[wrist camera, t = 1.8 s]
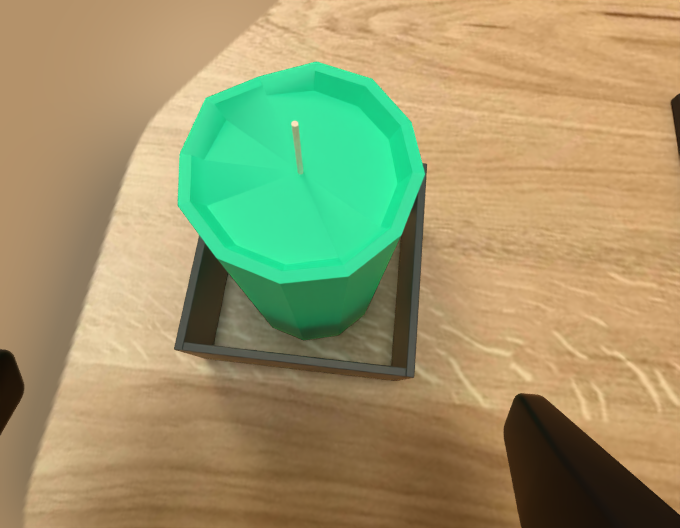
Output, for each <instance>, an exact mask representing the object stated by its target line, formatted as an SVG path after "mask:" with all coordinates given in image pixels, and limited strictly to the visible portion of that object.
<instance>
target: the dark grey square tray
mask: <svg viewBox="0 0 680 528" xmlns="http://www.w3.org/2000/svg"><path fill="white" fill-rule="evenodd" d="M422 164H423V168H424V172H425V176H424V178H423V181H422V183H421V186H420V189H419V191H418V194H417V196H416V199H415V201H414V204H413V207H412V209H411V212H410V214H409V217H408V219H407V222H406V225H405V227H404V230H403V232H402V235H401V244H400V257H399V271H398V284H397V297H396V310H395V324H394V337H393V350H392V364H391V366H384V365H375V364H367V363H358V362H350V361H341V360H333V359H324V358H316V357H307V356H298V355H290V354H281V353H273V352H264V351H256V350H247V349H239V348H230V347H221V346H213V345H214V340H215V335H216V330H217V324H218V319H219V314H220V309H221V304H222V299H223V294H224V289H225V284H226V279H227V273H228V272H227V271H226V269H225V268H224V267H223V266H222V264H221V263H220V262H219V261H218V259H217V258H216V257H215V256H214V254H213V253H212V251H211V250H210V249H209V247H208V246H207V245H206V243H205V242H204V241H203V239H202V238H201V237H200V235H199V239H198V243H197V248H196V252H195V257H194V261H193V266H192V270H191V275H190V279H189V284H188V288H187V293H186V297H185V302H184V306H183V311H182V316H181V320H180V325H179V329H178V334H177V338H176V343H175V347H174V349H175V350H178V351H181V352H184V353H188V354H191V355H195V356H198V357H201V358H205V359H213V360H222V361H230V362H239V363H247V364H256V365H264V366H273V367H281V368H290V369H299V370H307V371H316V372H324V373H333V374H341V375H350V376H358V377H367V378H375V379H384V380H393V381H398V380H403V379H409V378H414V374H415V357H416V340H417V324H418V307H419V290H420V273H421V257H422V240H423V223H424V206H425V190H426V173H427V164H425V163H422Z"/></svg>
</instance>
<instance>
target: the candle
mask: <svg viewBox="0 0 680 528" xmlns="http://www.w3.org/2000/svg"><path fill="white" fill-rule="evenodd" d="M424 176H425V172H424V168H423V164H422V160H421V156H420V153H419V149H418V145H417V141H416V137H415V134H414V130H413V126H412V122H411V121H410V120H409V119H408V118H407V117H406V115H405V114H404V113H403V112H402V111H401V110H400V109H399V108H398V107H397V106H396V104H395V103H394V102H393V101H392V100H391V99H390V98H389V97H388V96H387V95H386V93H385V92H384V91H383V90H382V89H381V88H380V87H379V86H378V85H377V83H376V82H375V81H374V80H373V79H371V78H368V77H365V76H362V75H358V74H355V73H352V72H349V71H345V70H342V69H339V68H336V67H332V66H329V65H326V64H323V63H320V62H313V63H309V64H305V65H301V66H297V67H293V68H290V69H286V70H282V71H278V72H274V73H270V74H267V75H263V76H259V77H256V78H254V79H251V80H249V81H246V82H244V83H242V84H239V85H237V86H234V87H232V88H229V89H227V90H224V91H222V92H219V93H217V94H214V95H212V96H209V97H207V98H205V101H204V103H203V105H202V107H201V109H200V111H199V113H198V116H197V118H196V120H195V122H194V124H193V126H192V128H191V131H190V133H189V135H188V137H187V139H186V141H185V143H184V146H183V148H182V150H181V152H180V158H179V183H178V207H179V208H180V210H181V211H182V212H183V214H184V215H185V216H186V218H187V219H188V220H189V222H190V223H191V224H192V226H193V227H194V228H195V230H196V231H197V233H198V234H199V235H200V237H201V238H202V239H203V241H204V242H205V243H206V245H207V246H208V247H209V249H210V250H211V251H212V253H213V254H214V256H215V257H216V258H217V259H218V261H219V262H220V263H221V264H222V266H223V267H224V268H225V269H226V271H227V272H228V273H229V274H230V276H231V277H232V278H233V279H234V280H235V282H236V283H237V284H238V285H239V287H240V288H241V289H242V290H243V292H244V293H245V294H246V295H247V297H248V298H249V299H250V300H251V301H252V303H253V304H254V305H255V306H256V308H257V309H258V310H259V311H260V313H261V314H262V315H263V316H264V318H265V319H266V320H267V321H268V322H269V324H270V325H271V326H272V327H273V328H275V329H278V330H280V331H283V332H285V333H287V334H290V335H292V336H295V337H297V338H300V339H302V340H309V339H317V338H324V337H331V336H338V335H339V334H340V333H342V332H343V331H344V330H346V329H347V328H348V327H349V326H351V325H352V324H353V323H354V322H356V321H357V320H358V319H360V318H361V317H362V316H363V315H364V314H365V312H366V310H367V308H368V306H369V304H370V302H371V299H372V297H373V295H374V293H375V291H376V289H377V287H378V284H379V282H380V280H381V278H382V276H383V274H384V271H385V269H386V267H387V265H388V263H389V261H390V259H391V256H392V254H393V252H394V250H395V248H396V246H397V244H398V241H399V239H400V237H401V235H402V232H403V230H404V227H405V225H406V222H407V219H408V217H409V214H410V212H411V209H412V207H413V204H414V201H415V199H416V196H417V194H418V191H419V189H420V186H421V183H422V181H423V178H424Z"/></svg>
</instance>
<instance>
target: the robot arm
mask: <svg viewBox="0 0 680 528" xmlns="http://www.w3.org/2000/svg"><path fill="white" fill-rule="evenodd" d="M23 393H24V382H23V379H22V376H21V373H20V371H19V368H18V365H17V363H16V360H15V357H14V355H13V354H12V353H11V352H10V351H8V350H2V349H0V435H1V433H2V431H3V430H4V428H5V426H6V424H7V423H8V421H9V419H10V418H11V416H12V414H13V412H14V410H15V409H16V407H17V405H18V404H19V402H20V400H21V398H22V396H23ZM504 441H505V446H506V452H507V457H508V462H509V467H510V472H511V478H512V483H513V488H514V493H515V499H516V504H517V509H518V514H519V518H520V523H521V527H522V528H680V515H679V514H678V513H677V512H676V511H675V510H673V509H672V508H671V507H670V506H669V505H668V504H666V503H665V502H664V501H663V500H662V499H661V498H660V497H658V496H657V495H656V494H655V493H654V492H653V491H651V490H650V489H649V488H648V487H647V486H646V485H645V484H643V483H642V482H641V481H640V480H639V479H638V478H636V477H635V476H634V475H633V474H632V473H631V472H630V471H628V470H627V469H626V468H625V467H624V466H623V465H622V464H620V463H619V462H618V461H617V460H616V459H615V458H613V457H612V456H611V455H610V454H609V453H608V452H607V451H605V450H604V449H603V448H602V447H601V446H600V445H598V444H597V443H596V442H595V441H594V440H593V439H592V438H590V437H589V436H588V435H587V434H586V433H585V432H583V431H582V430H581V429H580V428H579V427H578V426H577V425H575V424H574V423H573V422H572V421H571V420H570V419H568V418H567V417H566V416H565V415H564V414H563V413H562V412H560V411H559V410H558V409H557V408H556V407H555V406H554V405H552V404H551V403H550V402H549V401H548V400H547V399H545V398H544V397H543V396H541V395H535V394H524V393H521V394H518V395H516V396H515V398H514V400H513V403H512V406H511V408H510V411H509V414H508V416H507V419H506V422H505V425H504Z"/></svg>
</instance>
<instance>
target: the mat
mask: <svg viewBox="0 0 680 528" xmlns="http://www.w3.org/2000/svg"><path fill="white" fill-rule="evenodd" d="M672 107H673V113H674V120H675V126H676V133H677V139H678V146H679V152H680V94H678V95H677V96H676V97H674V98H673V99H672Z"/></svg>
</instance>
